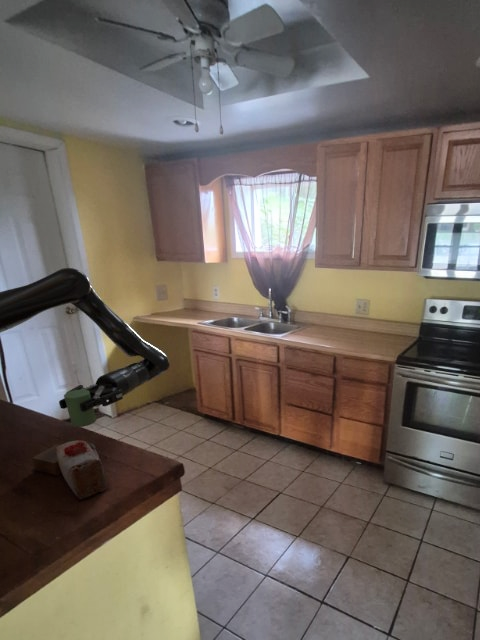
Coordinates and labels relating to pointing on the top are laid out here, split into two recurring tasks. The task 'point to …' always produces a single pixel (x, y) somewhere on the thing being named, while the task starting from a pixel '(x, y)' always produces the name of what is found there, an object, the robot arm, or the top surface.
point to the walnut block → (48, 461)
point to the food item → (81, 468)
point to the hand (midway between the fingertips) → (71, 406)
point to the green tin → (74, 409)
